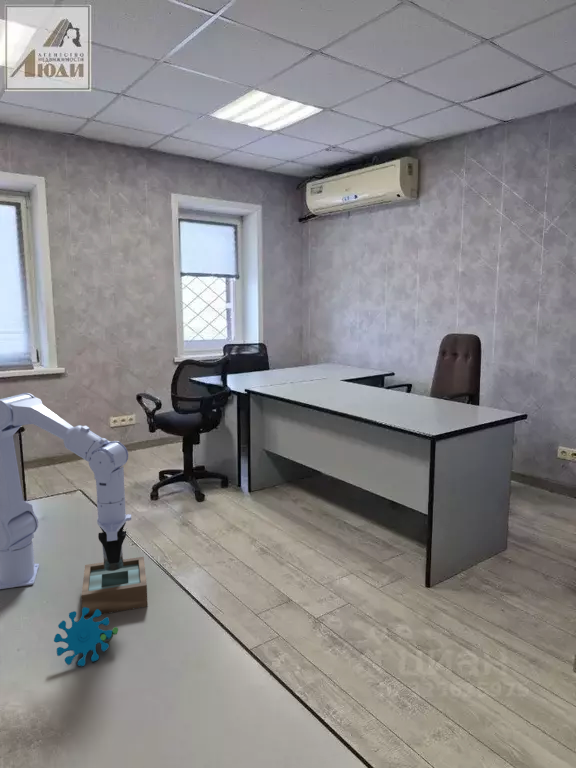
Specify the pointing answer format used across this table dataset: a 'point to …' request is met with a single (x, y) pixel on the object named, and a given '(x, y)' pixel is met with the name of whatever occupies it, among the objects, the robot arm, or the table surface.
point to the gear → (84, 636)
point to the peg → (114, 565)
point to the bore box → (114, 587)
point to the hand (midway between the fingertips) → (114, 557)
